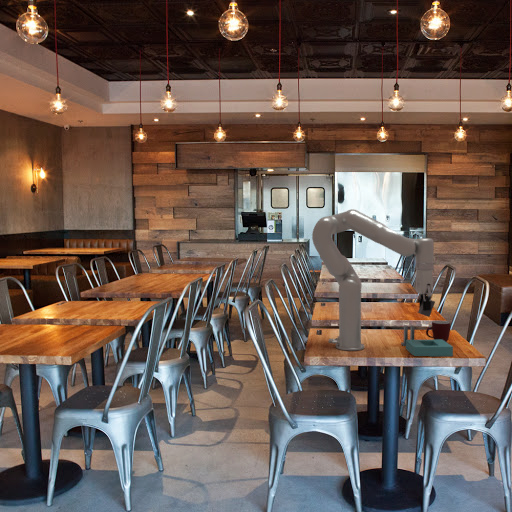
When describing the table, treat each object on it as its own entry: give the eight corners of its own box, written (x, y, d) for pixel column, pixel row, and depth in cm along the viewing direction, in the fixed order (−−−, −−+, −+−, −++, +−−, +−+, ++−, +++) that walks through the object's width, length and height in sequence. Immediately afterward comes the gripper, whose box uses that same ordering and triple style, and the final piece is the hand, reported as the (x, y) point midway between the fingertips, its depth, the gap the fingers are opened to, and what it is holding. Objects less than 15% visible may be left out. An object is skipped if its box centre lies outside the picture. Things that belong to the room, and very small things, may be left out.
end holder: (414, 356, 241) (414, 347, 240) (405, 348, 255) (405, 339, 254) (452, 356, 241) (453, 346, 240) (442, 348, 255) (442, 339, 254)
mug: (426, 345, 261) (426, 323, 260) (425, 341, 269) (425, 320, 268) (451, 346, 259) (451, 324, 258) (449, 342, 266) (449, 320, 266)
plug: (420, 314, 248) (428, 293, 247) (417, 312, 252) (425, 292, 251) (429, 317, 248) (437, 296, 247) (426, 315, 252) (433, 295, 251)
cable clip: (403, 346, 259) (403, 326, 258) (401, 344, 263) (401, 325, 262) (416, 346, 259) (417, 326, 258) (414, 344, 263) (414, 324, 262)
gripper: (410, 265, 257) (410, 306, 258) (422, 269, 240) (422, 313, 241) (427, 265, 257) (427, 306, 258) (440, 268, 240) (440, 312, 241)
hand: (425, 309), depth 250 cm, fingers closed on plug, 3 cm apart
